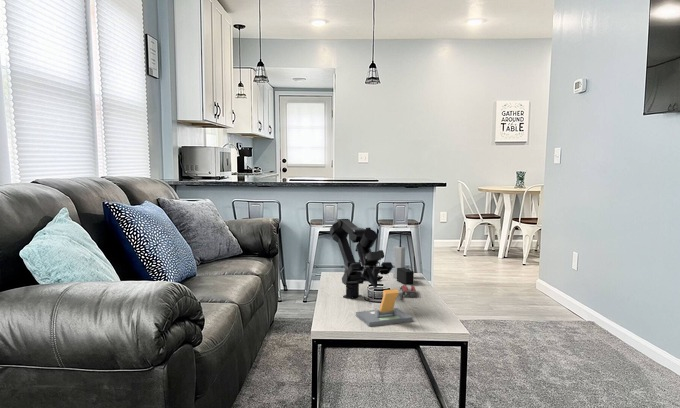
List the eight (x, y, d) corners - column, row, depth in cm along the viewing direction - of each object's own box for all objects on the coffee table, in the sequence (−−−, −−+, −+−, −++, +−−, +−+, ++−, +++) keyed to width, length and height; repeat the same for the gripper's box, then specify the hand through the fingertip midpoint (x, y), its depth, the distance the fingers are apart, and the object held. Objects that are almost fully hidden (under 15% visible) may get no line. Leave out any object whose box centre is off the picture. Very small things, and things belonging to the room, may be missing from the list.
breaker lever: (377, 312, 171) (383, 290, 165) (390, 311, 173) (396, 289, 167) (379, 316, 169) (385, 293, 164) (392, 315, 171) (399, 292, 166)
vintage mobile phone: (396, 276, 243) (397, 230, 241) (404, 277, 240) (405, 231, 238) (393, 277, 240) (393, 231, 238) (400, 279, 237) (401, 232, 235)
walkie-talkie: (396, 290, 215) (398, 302, 195) (396, 281, 214) (398, 292, 195) (414, 291, 214) (418, 303, 194) (414, 282, 214) (418, 293, 194)
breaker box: (355, 315, 175) (355, 304, 175) (396, 311, 181) (396, 300, 181) (369, 326, 163) (369, 314, 162) (412, 321, 169) (412, 309, 169)
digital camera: (415, 284, 225) (416, 271, 225) (406, 285, 223) (406, 271, 223) (406, 280, 235) (406, 267, 234) (396, 280, 233) (397, 267, 233)
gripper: (351, 243, 178) (361, 277, 169) (392, 242, 185) (404, 275, 176) (342, 259, 186) (352, 292, 177) (382, 257, 193) (393, 289, 184)
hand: (375, 287), depth 178 cm, fingers closed
